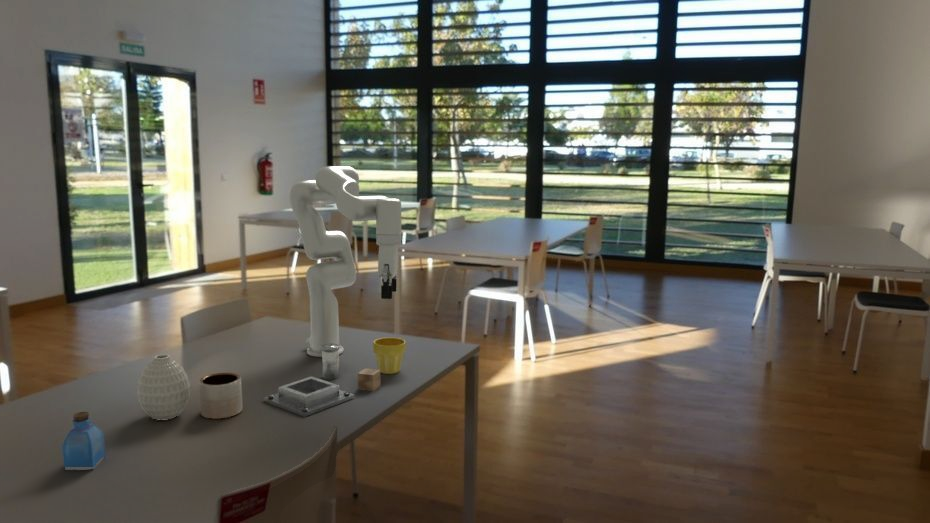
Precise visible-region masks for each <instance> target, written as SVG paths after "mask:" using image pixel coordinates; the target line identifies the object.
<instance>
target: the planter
mask: <svg viewBox="0 0 930 523" xmlns="http://www.w3.org/2000/svg"><path fill="white" fill-rule="evenodd" d="M198 388H199V389H198V392H199V412H200V415H201V416H202V417H204V418H206V419H209V418H212V419H211V420H222V419H221V418H225V419H229V418H232V417H231V416H233V417H235V416H237V415H238V414H240V413H241V412H242V411H243V407H244V406H243V392H242V390H243V389H242V376H241V375H240V374H238V373H235V372H217V373H216V372H215V373H210V374H207V375H204V376H202V377H201V378H200V379H199V380H198ZM234 415H235V416H234ZM228 417H229V418H228Z"/></svg>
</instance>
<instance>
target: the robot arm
mask: <svg viewBox="0 0 930 523" xmlns="http://www.w3.org/2000/svg"><path fill="white" fill-rule="evenodd" d="M359 184H360V176H359V173H358V172H357V170H356V169H355V168H353V167H351V166H349V165H337V166H336V165H333V166H332V165H327V166H323V167H321V168H319V169H317V171H316V173H315V175H314V179H307V180H301V181H298V182H295V184H293V185H292V187H291V189H290V192H289V201H290V207H291V209H292V211H293V212H292V213H293V214H294V216H295V218H296V220H297V222H298V226H299V231H300V236H301V240H302V245H303V246H302V247H303V249H304V253H305V255H306V257H307V258H308V259H310V260H312V261H313V260H315V261H316V260H327V259H333V260H334V261H326V262H317V263H314V264H312V265H311V266H309V267H308V269H307V270H306V274H305V279H306V284H307V289H308V294H309V312H310V313H309V315H310V336H309V337H308V338H307V339H305V342H306V343H307V344H309V347H308V348H306V354H307V355H308V356H311V357H316V358H322V350H321V345H324V344H329V343H334V344H339V345H340V333H339V331H340V330H339V328H340V327H339V326H340V325H339V301H338V299H337V297H336V296H335V294H334V293H333V291H332V290H337V289H342V288H348V287H351V286H352V285H354V283H355V282H356V280H357V270H356V266H355V265H356V264H355V261H354V256H353V252H352V247H351V243H350V240H349V238H348V236H347V235H346V234H345V233H344V232H343V231H341V230H327V228H326V227H325V225H326V224H325V222H324V218H323V217H322V215H321V213H320V212H319V211H318V210H317V209H316V208H315V207H314V206H316V205H333V204H335V205H336V208H337V210H338V212H339V213H340V214H341V215H342V216H344V217H345V218H347V219H348V220H350V221H353V222H368V221H375V222H376V223H375V227H376V228H375V230H376V231H375V235H376V236H375V237H376V238H375V240H376V241H375V243H376V245H377V246H378V259H377V261H378V262H377V278H378V279H381V286H380V287H381V288H380V291H381V292H380V296H381V297H380V298H381V299H384V300H392V299H393V292H397V273H398V267H399V266H398V264H399V262H398V261H399V250H398V246H401V245H402V202H401V200H400V199H398V198H396V197H395V198H394V197H387V196H385V195H361V196H359V195H360V185H359ZM344 350H345V349H344V347H343V346H342V345H340V349H339V355H341V354H343V353H344Z"/></svg>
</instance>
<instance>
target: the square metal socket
mask: <svg viewBox="0 0 930 523" xmlns="http://www.w3.org/2000/svg"><path fill="white" fill-rule="evenodd" d="M262 398H263V400H262V401H263V402H264V401H266V402H265V403H267V402H268V403H267V404H269V403H271V404H270V405H272V404H273V405H272V406H275V407H277V408H280V409H283V410H285V411H288V412H291V413H294V414H295V415H299V416H301V417H304V418H306V417H308V416H311V415H314V414H317V413H319V412H321V411H325V410H328V409H329V408H331V407H335V406H337V405H339V404H342V403H345V402H347V401H350V400H353V399H355V394H353V393H352V392H351V393H350V392H349V391H344V390H342V389H341V390H340V385H339V384H336V383H334V382H330V381H329V380H328V381H327V380H325V379H321V378H318V377H315V376H312V375H311V376H308V377H305V378H302V379H299V380H296V381H293V382H290V383H287V384H285V385H281V386H279V387H278V392H277V393H274V394H269V395H267V396H265V397H262Z"/></svg>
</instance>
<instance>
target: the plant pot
mask: <svg viewBox="0 0 930 523" xmlns="http://www.w3.org/2000/svg"><path fill="white" fill-rule="evenodd" d="M406 344H407V343H406V340H405V339H403V338H399V337H389V336H388V337H387V336H385V337H381V338H376V339H374V340H373V343H372V348H373V350H372V351H373V353H374V354H375V357H376V358H375V359H376V361H377V362H376V363H377V368H378V370H380V374H381V373H382V374H389V375H390V374H391V375H393V374H397V373H398V372H400V370H401V367H402V366H401V365H402V361H403V357H404V354H405V352H406V348H407V346H406Z"/></svg>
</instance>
